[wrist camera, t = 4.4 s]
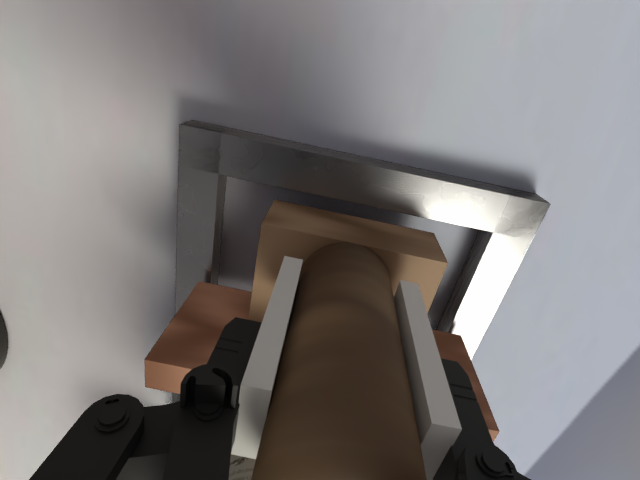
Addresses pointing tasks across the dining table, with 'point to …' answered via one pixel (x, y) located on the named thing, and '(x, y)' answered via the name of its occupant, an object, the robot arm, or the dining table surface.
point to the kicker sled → (327, 345)
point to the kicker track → (357, 187)
